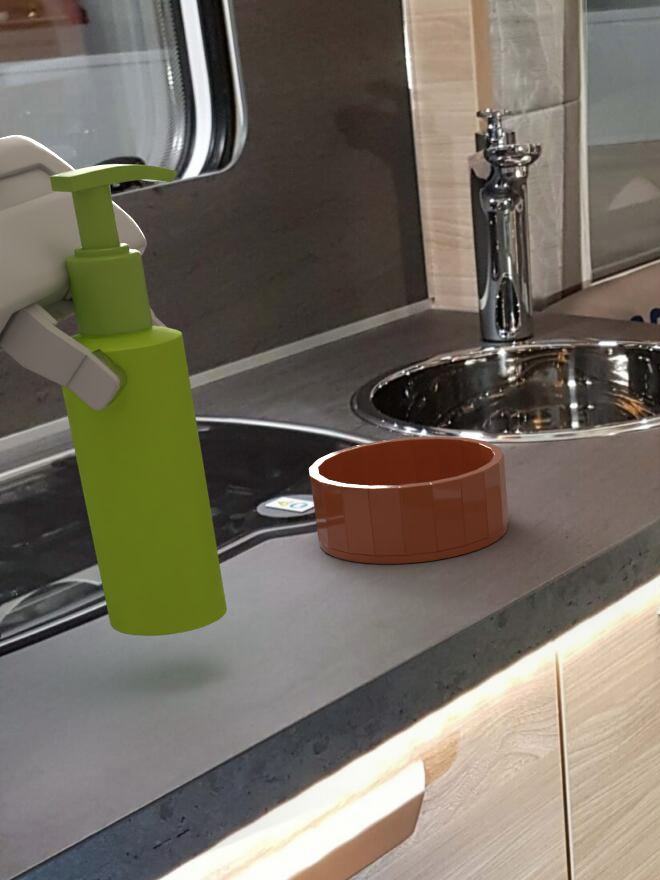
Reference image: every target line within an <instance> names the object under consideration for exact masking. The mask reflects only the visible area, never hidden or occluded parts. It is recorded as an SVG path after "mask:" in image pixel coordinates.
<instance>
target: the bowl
mask: <svg viewBox="0 0 660 880" xmlns="http://www.w3.org/2000/svg"><path fill="white" fill-rule="evenodd" d="M505 465H506V464H505V455H504V453H503V451H502V448H500V446H497V445H495V444H493V443H491V442H489V441H487V440H482V439H481V440H480V439H475V438H469V437H463V436H462V437H460V436H444V435H442V436H441V435H436V436H435V435H433V436H413V437H411V436H410V437H409V436H408V437H400V438H392V439H390V438H389V439H384V440H383V439H382V440H377V441H372V442H366V443H361V444H357V445H353V446H350V447H346V448H343V449H339V450H336V451H333V452H331V453H329V454H326V455H324V456H322V457H320V458H318V459H317V460H316V461H314V462H313V463H312V465H310V466H309V468H308V473H309V479H310V487H311V494H312V502H313V510H314V516H315V524H316V532H317V537H318V538H317V539H318V545H319V547H320V549H321V550H322V551H323V552H324V553H326V554H328V555H330V556H331V557H334V558H336V559H340V560H344V561H349V562H354V563H363V564H374V565H375V564H376V565H401V564H403V565H404V564H417V563H424V562H432V561H433V562H434V561H439V560H445V559H450V558H454V557H459V556H462V555H465V554H469V553H472V552H476V551H478V550H481V549H483V548H486V547H488V546H490V545H492V544H494V543H495V542H497V541H499V540H501V538H502V537H504V536H505V534H506V533H507V530H508V527H509V526H508V520H509V512H508V509H509V508H508V495H507V481H506V466H505Z"/></svg>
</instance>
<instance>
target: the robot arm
mask: <svg viewBox="0 0 660 880" xmlns="http://www.w3.org/2000/svg"><path fill="white" fill-rule="evenodd" d="M73 170H76V169H75V168H73V166H71V165H70V164H69V163H68V162H67V161H65V160H64V159H62V158H61V157H60V156H58V155H57V154H56V153H55V152H54V151H52V150H50V149H49V148H48V147H46V146H45V145H43V144H42V143H41V142H38V141H36V140H35V139H32V138H31V137H29V136H25V135H19V134H15V135H8V136H4V137H0V353H2V352H5V353H6V354H8V355H9V357H11V358H12V359H13V360H14V361H16V362H17V363H18V364H19V365H20V366H21V367H23V368H24V369H26V370H29V371H30V372H32V373H34V374H37V375H39V376H41V377H43V378H46V379H47V380H49V381H51V382H54V383H56V384H58V385H60V386H61V385H62V386H64V387H66V386H67V387H68V388H69V389H70V390H71V391H72V392H74V393H75V394H76V395H77V396H78V397H79V398H80V399H82V400H83V401H84V402H85V403H86V404H87V405H89V406H90V407H91V408H92V409H94V410H97V411H99V410H102V409H104V408H106V407H107V406H109V405H110V404H112V403H113V402H114V401H115V400H116V399H117V397H118V396H119V394H120V392H121V391H122V390H123V388H124V387H125V385H126V384H127V379H128V378H127V376H126V373H125V371H124V370H123V369H122V368H121V367H120V366H118V365H116V364H114V363H113V361H112V360H111V358H109V357H108V356H107V355H106V354H105V353H104V352H103V351H102V350H100V349H98V350H96V351H94V352H92V351H91V350H89V349H88V348H86V347H85V346H83V345H82V344H80V343H79V342H77V341H76V340H74V339H73V338H71V335H69V334H67V333H66V332H64V331H62V330H61V329H60V328H58V327H57V325H58V324H59V323H60V322H62V321H64V320H66V319H68V318H70V317H72V316H74V315H75V310H74V305H73V299H72V294H71V289H70V279H69V274H68V271H67V268H66V263H65V259H66V257H68V256H70V255H74V249H76V248H78V247H82V246H81V240H80V235H79V230H78V225H77V219H76V214H75V209H74V204H73V198H72V193H71V192H58V191H52V186H51V181H50V176H53V175H57V174H61V173H65V172H69V171H73ZM112 202H113V207H114V213H115V219H116V224H117V230H118V236H119V241H120V243H126V244H128V245H129V249H135V250H138V251H139V252H140V254H141V256H142V255H143V254H144V252H145V250H146V248H147V245H148V243H147V239H146V237H145V235H144V233H143V232H142V230H141V228H140V226H139V225H138V224H137V222H135V220H134V219H133V217H131V216H130V215H129V214H128V213H127V212H126V211H125V210H123V209H122V208H121V207H120V206H119V205H118V204H116V203H115V202H114V200H112ZM150 310H151V316H152V322H153V326H160V327H166V328H168V326H166V324H164V323H163V322H162V321H161V320H160V319H158V317H157V316H156V313H155V312H154V311H153V309H152V307H151V306H150ZM91 352H92V353H91ZM62 386H61V387H62Z"/></svg>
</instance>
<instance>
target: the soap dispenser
mask: <svg viewBox="0 0 660 880" xmlns="http://www.w3.org/2000/svg"><path fill="white" fill-rule="evenodd" d="M177 175H178V171H177V170H175V169H170V168H167V167H161V166H156V165H149V164H124V163H121V164H119V163H111V164H110V163H109V164H100V165H93V166H87V167H83V168H78V169H77V168H76V169H75V170H73V171H69V172H65V173H61V174H57V175H53V176H50V181H51V186H52V191H58V192H71V193H72V198H73V204H74V209H75V214H76V219H77V225H78V230H79V235H80V240H81V246H82V247H78V248H76V249H74V255H70V256H68V257H66V259H65V263H66V268H67V271H68V274H69V279H70V289H71V294H72V299H73V305H74V310H75V314H74V315H75V320H76V325H77V329H78V330H77V331H78V333H76V334H74V335H73V334H72V335H70V337H71V338H73V339H74V340H76V341H77V342H79V343H80V344H82V345H83V346H85V347H86V348H88V349H89V350H91V351H92V352H94V351H96V350H98V349H100V350H102V351H103V352H104V353H105V354H106V355H107V356H108V357H109V358H111V360H112V361H113V363H114V364H116V365H118V366H120V367H121V368H122V369H123V370H124V371H125V373H126V376H127V378H128V379H127V384H126V385H125V387H124V388H123V390H122V391H121V392H120V394H119V396H118V397H117V399H116V400H115V401H114V402H113V403H112V404H110V405H109V406H107V407H106V408H104V409H102V410H99V411H97V410H94V409H92V408H91V407H90V406H89V405H87V404H86V403H85V402H84V401H83V400H82V399H80V398H79V397H78V396H77V395H76V394H75V393H74V392H72V391H71V390H70V389H69V388H68V387H67V386H66V387H64V386H62V385H60V386H61V391H62V395H63V400H64V405H65V409H66V415H67V419H68V420H67V421H68V424H69V429H70V434H71V440H72V444H73V449H74V453H75V459H76V463H77V468H78V474H79V477H80V484H81V488H82V492H83V498H84V501H85V502H84V503H85V508H86V512H87V516H88V522H89V527H90V531H91V537H92V542H93V546H94V551H95V555H96V561H97V565H98V566H97V567H98V571H99V575H100V580H101V585H102V590H103V595H104V600H105V604H106V611H107V615H108V619H109V624H110V627H111V628H112V629H113V630H115V631H117V632H119V633H122V634H125V635H130V636H137V637H158V636H168V635H177V634H181V633H186V632H191V631H196V630H199V629H201V628H205V627H207V626H210V625H212V624H214V623H215V622H218V621H219V620H220V619H222V618H223V617H224V616H225V615H226V613H227V609H228V607H227V602H226V596H225V590H224V583H223V576H222V570H221V565H220V559H219V553H218V547H217V539H216V533H215V528H214V521H213V515H212V509H211V503H210V497H209V490H208V484H207V478H206V472H205V467H204V460H203V454H202V453H203V452H202V447H201V442H200V435H199V429H198V423H197V416H196V410H195V405H194V404H195V403H194V397H193V393H192V392H193V391H192V385H191V380H190V373H189V369H188V368H189V367H188V362H187V361H188V360H187V355H186V354H187V353H186V349H185V343H184V342H185V341H184V337H183V333H182V331H180V330H178V329H174V328H171V327H167V326H166V327H167V328H166V327H160V326H153V322H152V316H151V310H150V307H151V305H150V299H149V293H148V288H147V287H148V286H147V282H146V276H145V275H146V274H145V269H144V264H143V258H142V255H141V254H140V252H139V251H138V250H135V249H129V245H128V244H126V243H120V241H119V236H118V230H117V224H116V219H115V213H114V207H113V202H114V201H113V197H112V192H111V185H117V184H121V183H126V182H133V181H143V182H154V183H155V182H156V183H157V182H158V183H159V182H160V183H172V182H174V179H175V178H176V176H177ZM112 201H113V202H112ZM92 352H91V353H92Z"/></svg>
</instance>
